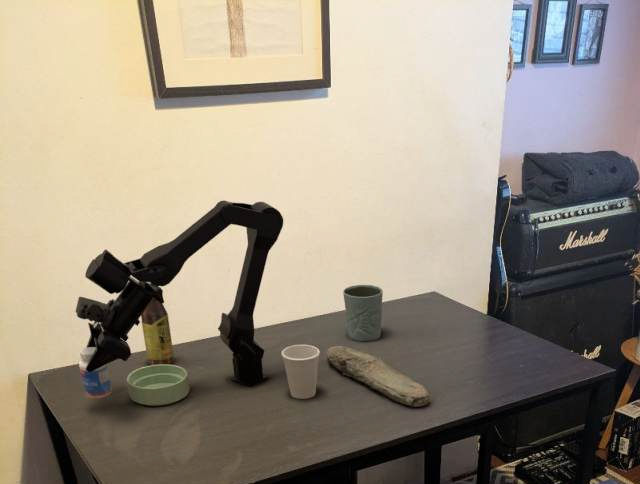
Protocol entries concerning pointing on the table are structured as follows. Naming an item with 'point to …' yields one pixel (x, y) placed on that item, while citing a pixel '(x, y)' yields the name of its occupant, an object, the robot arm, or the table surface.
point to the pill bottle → (94, 376)
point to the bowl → (158, 384)
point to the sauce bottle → (157, 333)
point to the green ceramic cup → (363, 312)
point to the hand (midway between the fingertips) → (85, 365)
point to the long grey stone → (377, 375)
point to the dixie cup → (301, 370)
